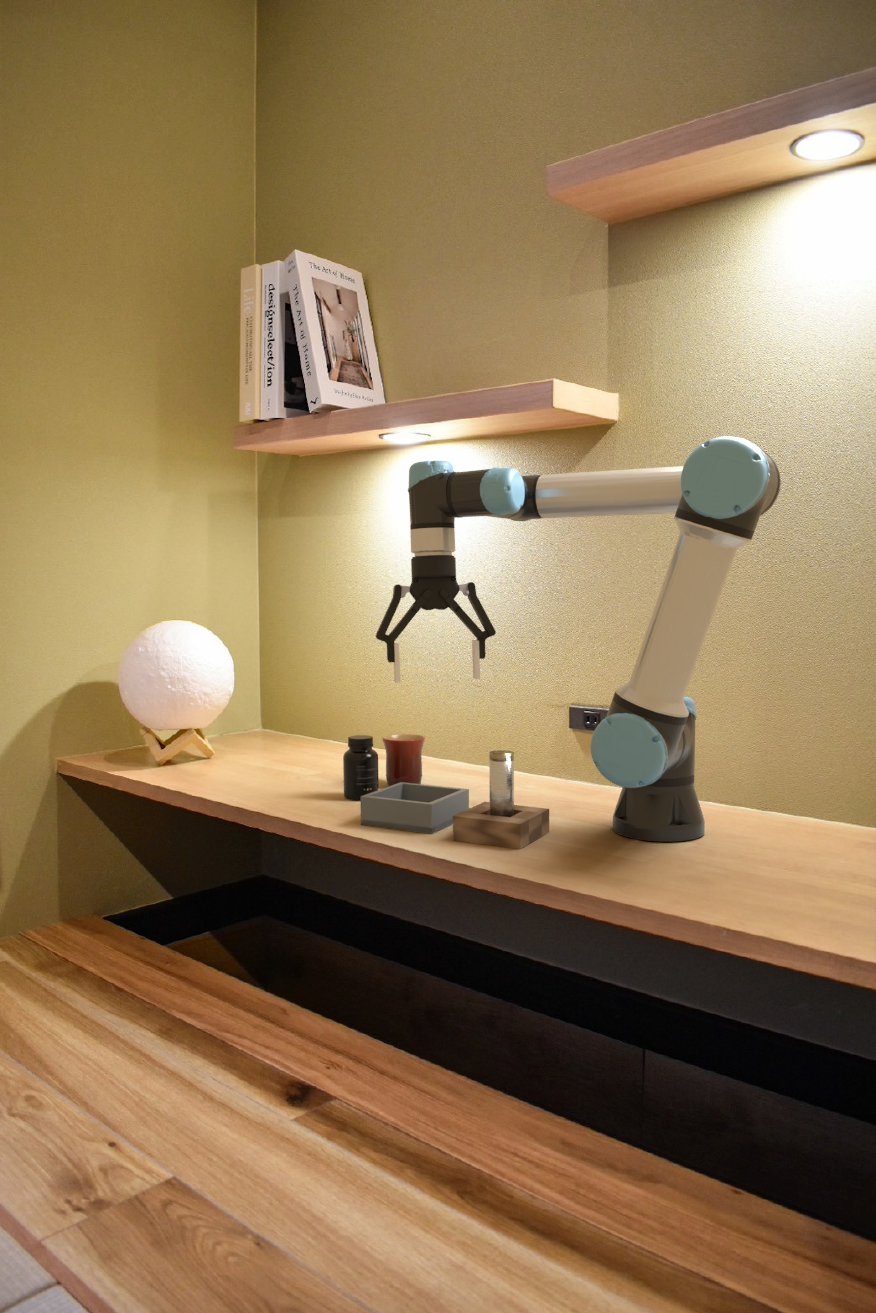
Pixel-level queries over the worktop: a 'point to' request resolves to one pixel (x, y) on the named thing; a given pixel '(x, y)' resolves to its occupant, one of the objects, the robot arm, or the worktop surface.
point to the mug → (403, 758)
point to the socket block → (501, 826)
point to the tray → (413, 807)
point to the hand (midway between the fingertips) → (437, 680)
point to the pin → (502, 783)
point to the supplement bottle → (360, 767)
